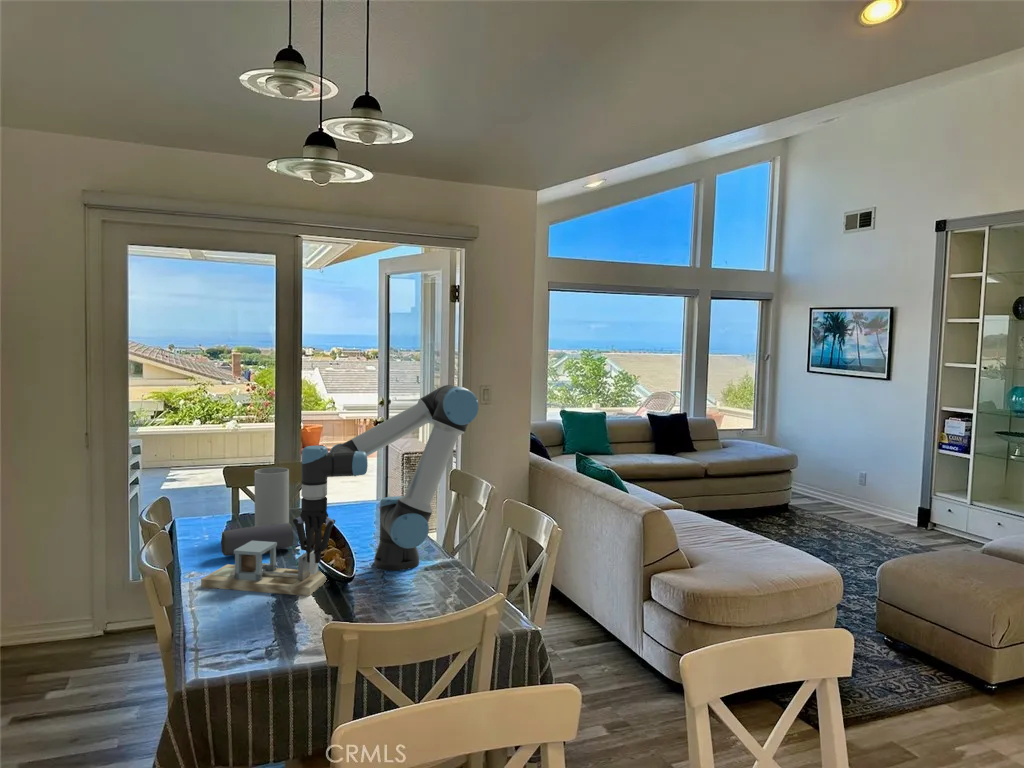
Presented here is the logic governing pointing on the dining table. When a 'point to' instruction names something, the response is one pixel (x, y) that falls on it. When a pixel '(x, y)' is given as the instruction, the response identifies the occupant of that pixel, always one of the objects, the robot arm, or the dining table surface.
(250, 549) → the tunnel
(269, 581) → the platform
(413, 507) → the robot arm
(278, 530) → the bluetooth speaker
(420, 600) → the dining table surface
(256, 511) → the cylinder vase
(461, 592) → the dining table surface
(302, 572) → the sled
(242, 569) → the block
